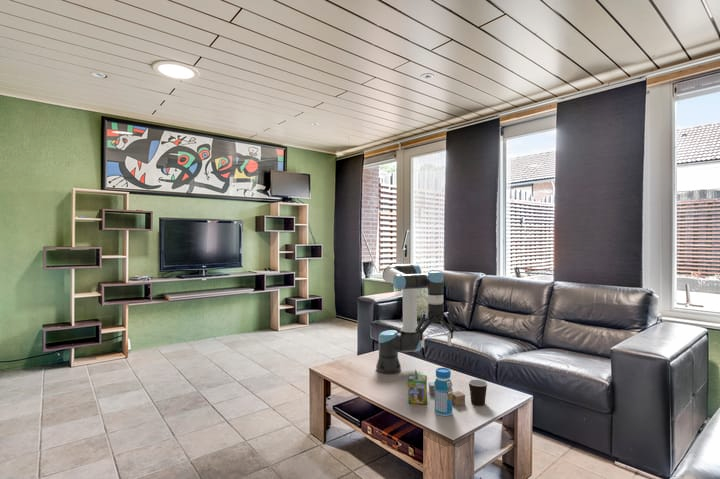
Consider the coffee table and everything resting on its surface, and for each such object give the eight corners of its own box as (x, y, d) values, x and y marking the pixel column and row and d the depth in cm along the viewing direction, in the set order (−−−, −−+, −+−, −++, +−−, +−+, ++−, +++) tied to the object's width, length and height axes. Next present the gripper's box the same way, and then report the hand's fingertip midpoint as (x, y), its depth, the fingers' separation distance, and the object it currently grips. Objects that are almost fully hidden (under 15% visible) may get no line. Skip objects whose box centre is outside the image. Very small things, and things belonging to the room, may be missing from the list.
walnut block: (450, 402, 191) (450, 392, 190) (458, 400, 192) (458, 390, 192) (456, 406, 186) (456, 396, 186) (465, 404, 188) (464, 394, 188)
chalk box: (426, 405, 188) (426, 374, 188) (408, 403, 190) (407, 373, 190) (427, 397, 197) (427, 368, 197) (409, 395, 199) (409, 367, 199)
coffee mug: (484, 408, 184) (484, 387, 183) (466, 404, 188) (466, 384, 188) (490, 399, 193) (490, 379, 193) (473, 395, 198) (473, 376, 198)
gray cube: (428, 391, 205) (428, 381, 205) (438, 391, 204) (438, 381, 204) (430, 395, 200) (430, 385, 200) (439, 395, 199) (439, 385, 199)
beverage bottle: (436, 416, 176) (435, 373, 176) (432, 408, 184) (432, 366, 184) (454, 416, 176) (454, 372, 176) (450, 408, 184) (450, 366, 184)
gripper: (413, 305, 184) (413, 349, 185) (463, 303, 188) (463, 346, 188) (409, 302, 192) (409, 345, 192) (457, 300, 195) (457, 342, 196)
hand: (436, 346), depth 190 cm, fingers open, 13 cm apart
